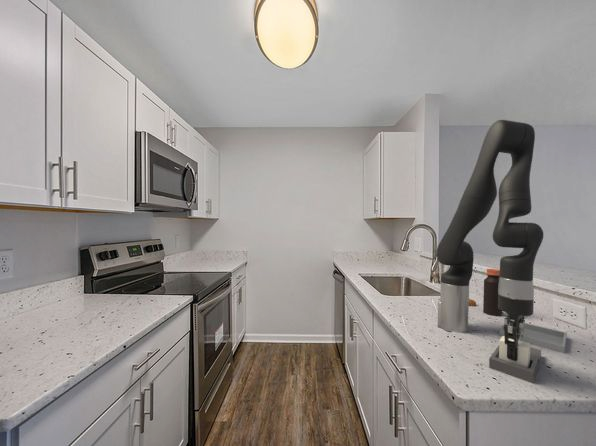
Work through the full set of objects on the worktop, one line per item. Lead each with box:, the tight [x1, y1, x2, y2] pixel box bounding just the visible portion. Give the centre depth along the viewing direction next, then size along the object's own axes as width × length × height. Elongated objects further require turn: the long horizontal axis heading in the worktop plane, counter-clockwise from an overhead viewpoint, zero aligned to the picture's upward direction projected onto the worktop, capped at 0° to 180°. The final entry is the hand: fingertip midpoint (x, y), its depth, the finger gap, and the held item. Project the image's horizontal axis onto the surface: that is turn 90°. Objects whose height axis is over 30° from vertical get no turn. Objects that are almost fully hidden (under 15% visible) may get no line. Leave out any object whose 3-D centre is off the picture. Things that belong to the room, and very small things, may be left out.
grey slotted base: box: [488, 345, 542, 384], centre depth 74 cm, size 9×18×3 cm, turn 132°
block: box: [498, 336, 531, 368], centre depth 71 cm, size 6×4×6 cm
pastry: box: [469, 298, 477, 307], centre depth 129 cm, size 9×7×4 cm
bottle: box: [482, 268, 503, 317], centre depth 114 cm, size 7×7×20 cm
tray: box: [498, 322, 568, 354], centre depth 91 cm, size 16×16×2 cm
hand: (513, 356), depth 71 cm, fingers closed on block, 4 cm apart
